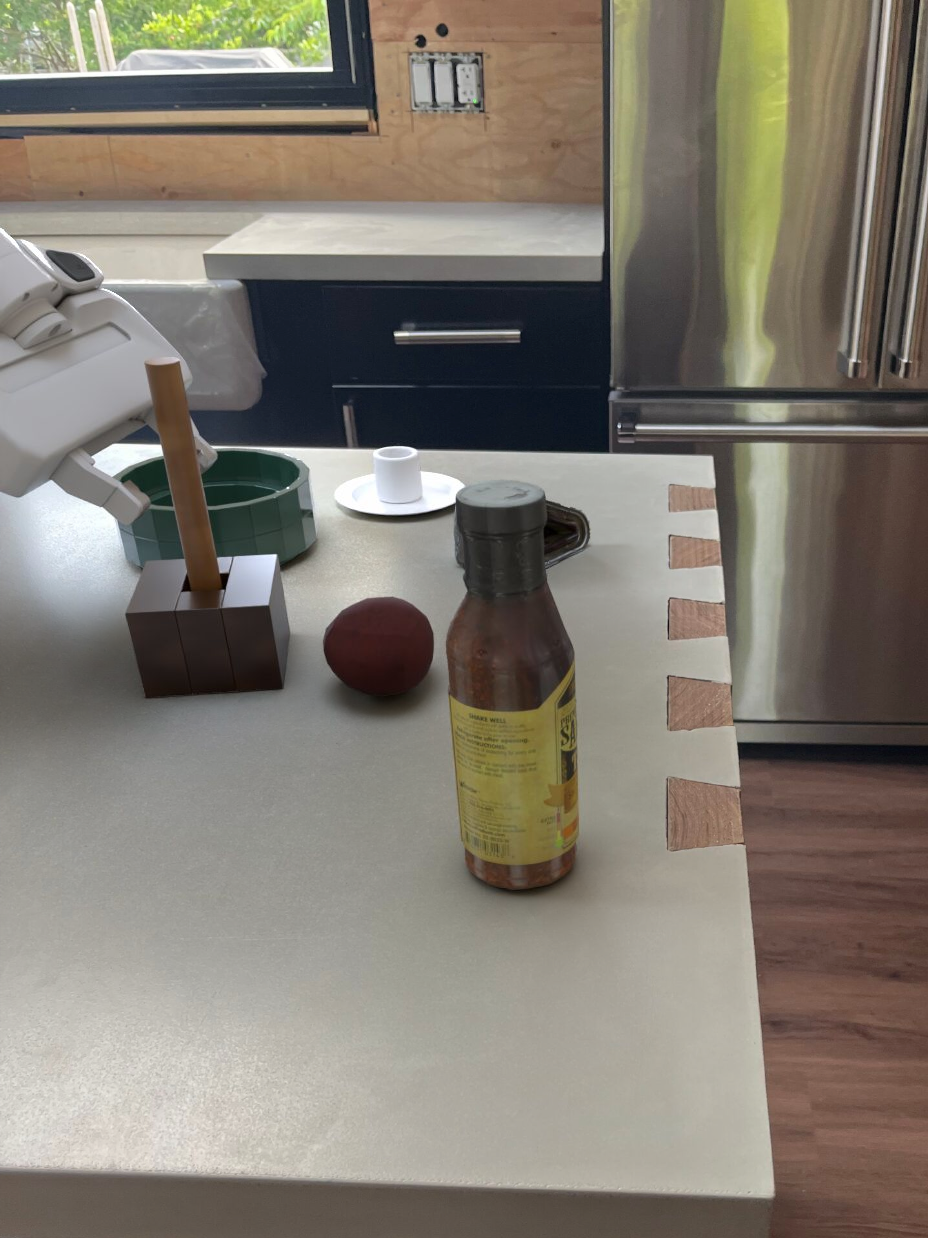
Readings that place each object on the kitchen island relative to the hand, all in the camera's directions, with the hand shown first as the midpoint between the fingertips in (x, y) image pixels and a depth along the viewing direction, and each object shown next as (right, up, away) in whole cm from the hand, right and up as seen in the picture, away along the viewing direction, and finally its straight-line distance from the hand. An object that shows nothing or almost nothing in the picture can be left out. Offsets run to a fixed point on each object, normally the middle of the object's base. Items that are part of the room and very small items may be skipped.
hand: (176, 490), depth 74 cm
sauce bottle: (+22, -23, -11) cm, 34 cm away
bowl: (-5, +2, +25) cm, 26 cm away
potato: (+12, -12, +5) cm, 18 cm away
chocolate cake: (+19, +1, +25) cm, 31 cm away
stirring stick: (0, -10, +7) cm, 12 cm away
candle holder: (+8, +9, +35) cm, 37 cm away
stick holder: (0, -10, +7) cm, 12 cm away
